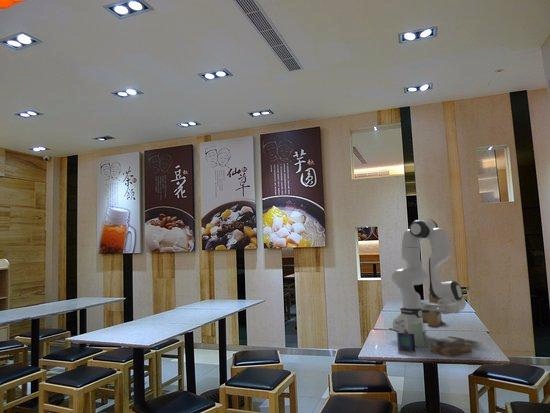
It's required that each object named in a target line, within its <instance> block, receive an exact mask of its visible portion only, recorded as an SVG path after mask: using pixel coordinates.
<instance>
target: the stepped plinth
mask: <svg viewBox="0 0 550 413" xmlns="http://www.w3.org/2000/svg"><path fill="white" fill-rule="evenodd" d="M430 352H431V353H434V354H438V355H443V356H447V357H452V358H454V357H457V356H460V355H463V354H467V353H470V352H472V344H471V343H468V342H465V338H463V337H462V338H461V337H455V336H446V337H442V338H439V339H438V338H437V339H435V343H432V344H430Z"/></svg>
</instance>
